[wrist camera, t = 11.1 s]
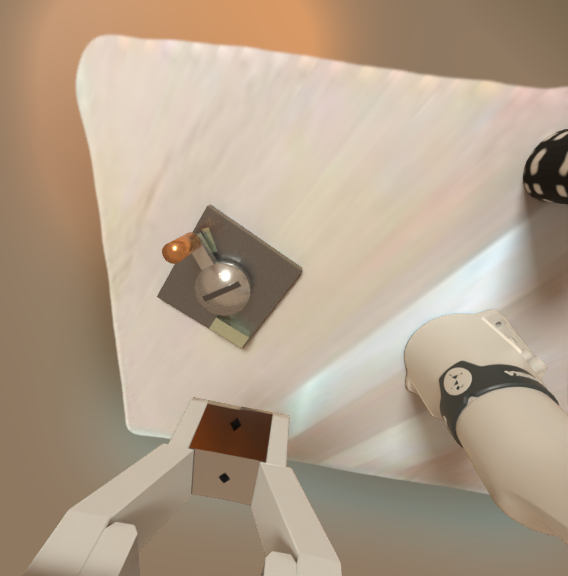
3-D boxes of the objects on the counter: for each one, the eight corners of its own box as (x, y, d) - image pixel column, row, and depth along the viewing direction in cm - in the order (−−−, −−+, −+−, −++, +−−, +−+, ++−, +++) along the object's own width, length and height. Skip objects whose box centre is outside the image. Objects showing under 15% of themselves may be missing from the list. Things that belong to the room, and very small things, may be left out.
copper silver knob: (217, 217, 39) (195, 229, 31) (261, 297, 43) (251, 325, 35) (171, 241, 41) (139, 258, 33) (217, 315, 45) (198, 346, 37)
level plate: (302, 267, 43) (301, 275, 39) (244, 343, 49) (239, 355, 46) (210, 204, 40) (202, 207, 37) (161, 292, 46) (151, 301, 43)
